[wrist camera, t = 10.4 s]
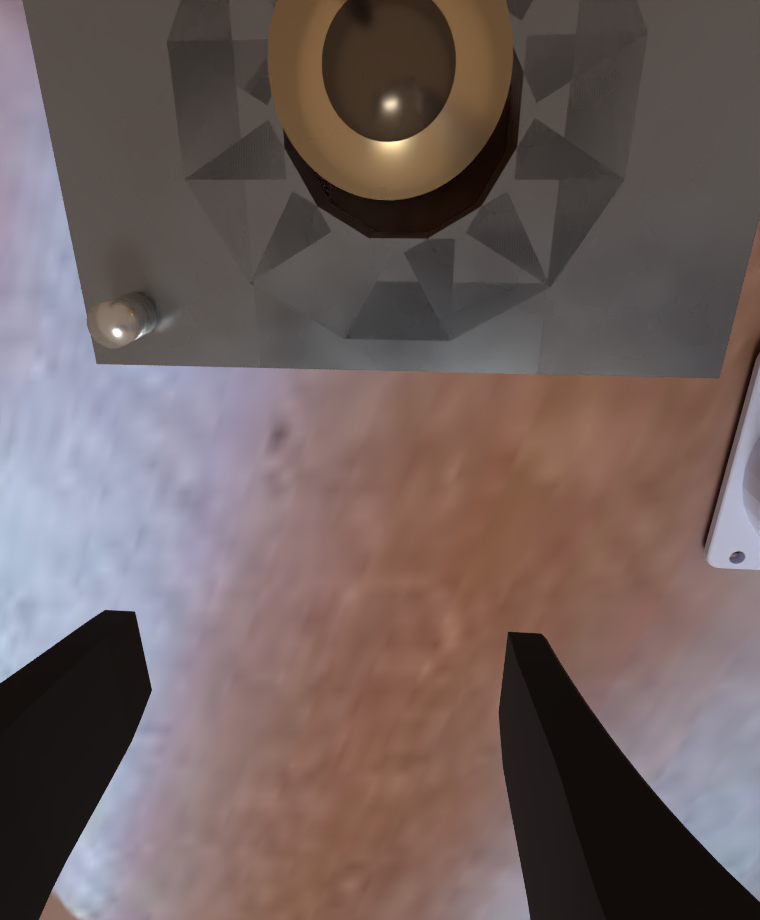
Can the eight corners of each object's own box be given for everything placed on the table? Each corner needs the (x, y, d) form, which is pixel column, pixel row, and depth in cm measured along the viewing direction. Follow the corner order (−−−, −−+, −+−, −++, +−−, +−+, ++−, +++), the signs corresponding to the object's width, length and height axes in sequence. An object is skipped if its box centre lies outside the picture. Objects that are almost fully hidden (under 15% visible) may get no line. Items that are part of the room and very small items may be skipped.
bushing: (497, 21, 16) (537, -81, 10) (470, 203, 17) (489, 212, 11) (331, 4, 16) (268, -107, 10) (321, 187, 18) (264, 187, 12)
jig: (812, -216, 13) (955, -368, 10) (685, 356, 19) (746, 397, 15) (41, -181, 15) (-89, -302, 11) (133, 344, 20) (67, 379, 16)
